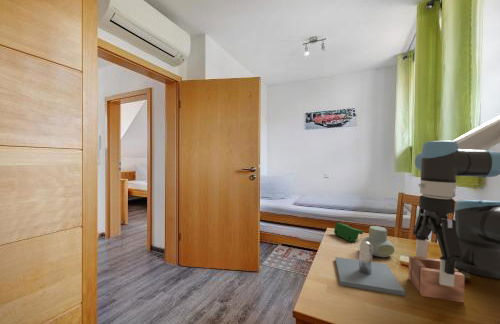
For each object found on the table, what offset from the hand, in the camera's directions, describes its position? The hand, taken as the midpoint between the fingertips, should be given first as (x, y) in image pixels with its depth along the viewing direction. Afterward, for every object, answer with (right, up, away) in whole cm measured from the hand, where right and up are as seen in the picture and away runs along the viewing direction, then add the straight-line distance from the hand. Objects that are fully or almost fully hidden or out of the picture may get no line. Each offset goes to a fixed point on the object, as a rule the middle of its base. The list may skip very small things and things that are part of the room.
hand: (432, 271), depth 62 cm
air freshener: (-2, -5, +23) cm, 23 cm away
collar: (0, -5, 0) cm, 5 cm away
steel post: (-15, -3, +7) cm, 17 cm away
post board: (-15, -5, +7) cm, 17 cm away
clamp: (-6, -4, +39) cm, 40 cm away
